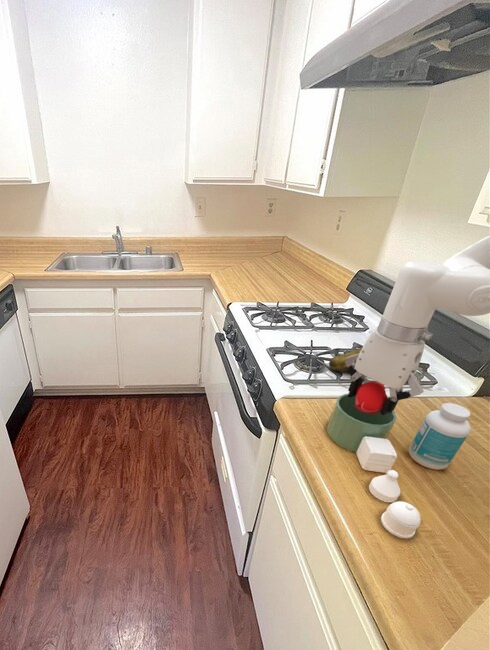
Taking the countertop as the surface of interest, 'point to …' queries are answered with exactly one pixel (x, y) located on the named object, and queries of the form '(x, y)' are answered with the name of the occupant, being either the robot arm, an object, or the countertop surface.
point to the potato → (342, 361)
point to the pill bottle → (440, 436)
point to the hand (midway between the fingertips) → (368, 403)
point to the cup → (356, 424)
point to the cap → (370, 397)
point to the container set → (387, 486)
